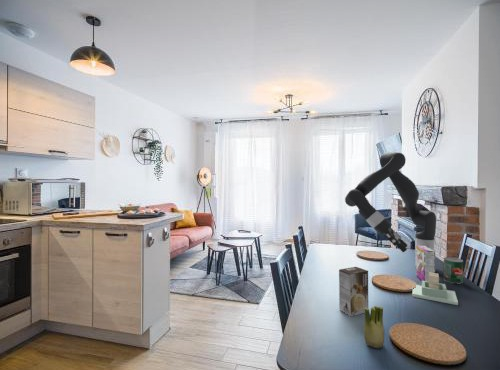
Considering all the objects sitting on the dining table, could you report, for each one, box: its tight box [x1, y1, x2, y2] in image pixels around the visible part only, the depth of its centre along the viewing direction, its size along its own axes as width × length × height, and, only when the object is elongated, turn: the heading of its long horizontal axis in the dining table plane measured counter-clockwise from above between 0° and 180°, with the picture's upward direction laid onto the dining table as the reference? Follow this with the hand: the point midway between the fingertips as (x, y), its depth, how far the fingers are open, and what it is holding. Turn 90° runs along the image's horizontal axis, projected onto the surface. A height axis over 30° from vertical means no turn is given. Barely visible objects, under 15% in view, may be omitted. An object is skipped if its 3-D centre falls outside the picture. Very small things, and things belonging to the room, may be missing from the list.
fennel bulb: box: [363, 305, 385, 349], centre depth 84 cm, size 6×5×12 cm
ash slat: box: [429, 272, 440, 289], centre depth 121 cm, size 4×4×8 cm
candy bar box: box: [415, 246, 436, 282], centre depth 139 cm, size 11×5×16 cm, turn 168°
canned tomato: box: [443, 256, 464, 285], centre depth 138 cm, size 8×8×11 cm
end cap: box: [411, 280, 459, 306], centre depth 121 cm, size 13×16×4 cm
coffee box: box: [338, 266, 369, 317], centre depth 106 cm, size 9×6×16 cm
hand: (405, 248), depth 127 cm, fingers open, 8 cm apart
